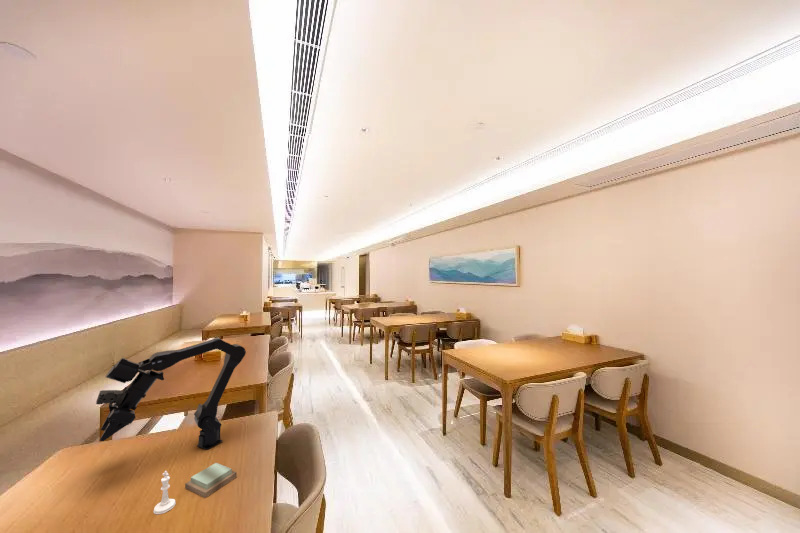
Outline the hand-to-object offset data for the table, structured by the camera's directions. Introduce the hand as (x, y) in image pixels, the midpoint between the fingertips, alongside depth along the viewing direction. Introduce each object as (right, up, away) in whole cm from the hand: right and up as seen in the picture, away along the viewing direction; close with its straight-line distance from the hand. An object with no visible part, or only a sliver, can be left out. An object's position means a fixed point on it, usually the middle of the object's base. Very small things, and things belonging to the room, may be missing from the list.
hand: (101, 435), depth 95 cm
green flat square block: (+37, -14, -2) cm, 40 cm away
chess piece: (+30, -14, -12) cm, 35 cm away
